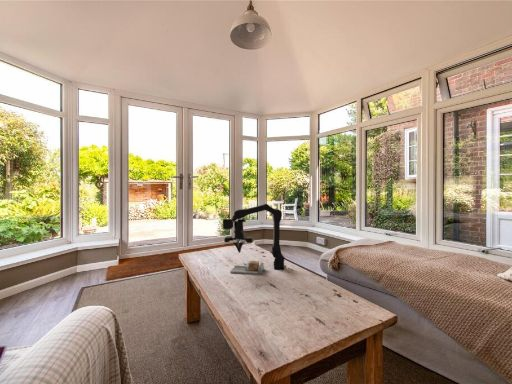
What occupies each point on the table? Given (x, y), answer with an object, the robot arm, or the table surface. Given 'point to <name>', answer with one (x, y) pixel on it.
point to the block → (253, 265)
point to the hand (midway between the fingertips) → (239, 252)
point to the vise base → (241, 270)
